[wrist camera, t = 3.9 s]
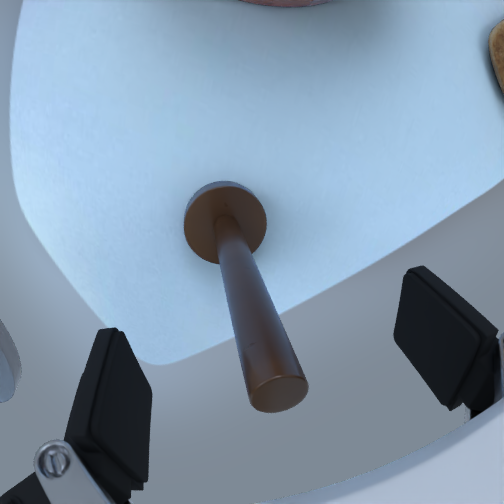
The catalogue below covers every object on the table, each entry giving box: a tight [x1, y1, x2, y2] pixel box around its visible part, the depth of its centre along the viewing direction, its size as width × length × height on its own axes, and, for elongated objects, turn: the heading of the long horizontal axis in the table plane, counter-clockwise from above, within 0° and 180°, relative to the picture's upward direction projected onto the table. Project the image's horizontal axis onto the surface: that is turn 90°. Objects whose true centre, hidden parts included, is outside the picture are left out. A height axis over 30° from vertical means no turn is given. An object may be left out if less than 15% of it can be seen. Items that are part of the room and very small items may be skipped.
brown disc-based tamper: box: [184, 181, 309, 413], centre depth 14 cm, size 5×5×15 cm
